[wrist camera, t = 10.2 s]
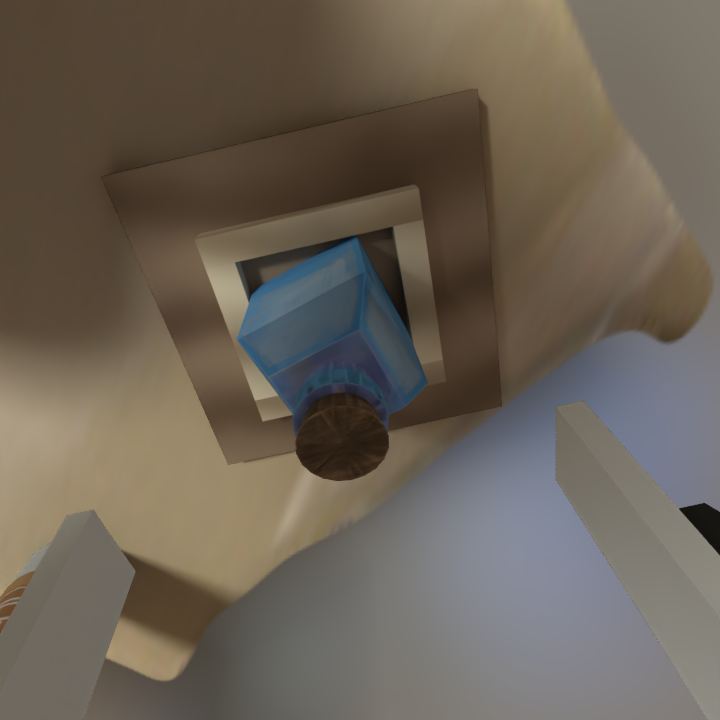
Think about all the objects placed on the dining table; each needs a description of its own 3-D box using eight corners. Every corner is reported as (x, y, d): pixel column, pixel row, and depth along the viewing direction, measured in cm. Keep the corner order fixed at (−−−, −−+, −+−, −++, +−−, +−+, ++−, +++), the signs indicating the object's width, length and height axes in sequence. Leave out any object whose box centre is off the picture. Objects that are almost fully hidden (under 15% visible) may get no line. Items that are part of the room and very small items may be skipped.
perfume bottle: (313, 375, 29) (310, 535, 18) (253, 289, 26) (209, 419, 15) (406, 327, 28) (461, 468, 17) (355, 232, 25) (382, 330, 14)
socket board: (109, 174, 24) (90, 181, 22) (471, 89, 23) (485, 88, 21) (230, 454, 32) (225, 477, 30) (496, 397, 32) (508, 416, 30)
